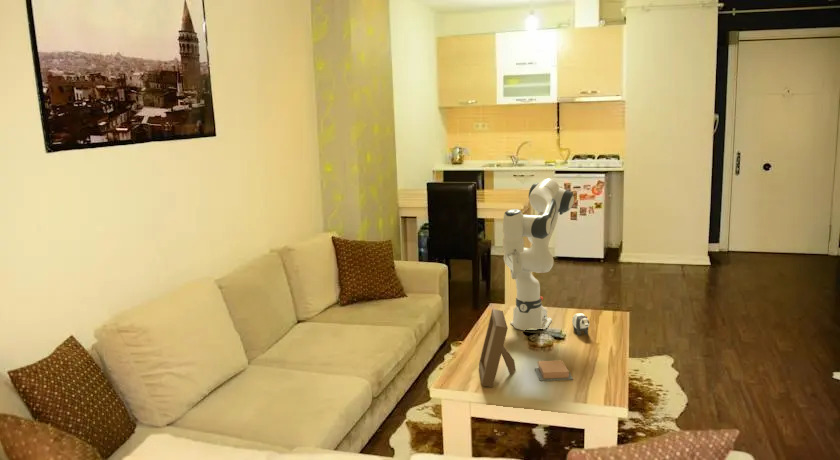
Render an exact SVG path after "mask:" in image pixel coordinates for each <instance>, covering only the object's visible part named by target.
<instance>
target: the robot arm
mask: <svg viewBox="0 0 840 460" xmlns="http://www.w3.org/2000/svg"><path fill="white" fill-rule="evenodd" d="M528 201H529V204H530V206H531V208H532V209H533V210H534V211H536V212H537V213H536V215H534V214H523V212H522V210H520V209H517V208H511V209H507V210H506V211H505V212H504V214H503V220H502V232H503V239H502V251H503V252H504V254H503V262H504V265H506V266H507V267H508V269H509V271H510V273H511V274H510V275H511V276H510V277H511V279H513V280H514V281H515V284H516V285H515V286H516V287H515V288H516V298H515V307H514V308H513V314H512V315H513V316H512V320H511V321H510V325H512V326H513V327H514V329H517V330H521V331H525V329H529V328H547V329H548V327H549V326H550V325H551V322H552V321H553V319H552V318H551V317H548V310H547V308H546V307H544V306H543V304H542V302H543V299H544V297H543V296H541V284H540V281H539V280H538V279H537V278H536V277H535V276H534V275H533V273H538V274H539V273H540V274H541V273H549V272H550V271H551V270H552V268H553V266H554V262H555V261H554V257H553V255H552V253H551V252H550V248H549V245H550V244H549V243H550V240H551V237H552V235H553V233H554V231H555V228H556V226H557V222H558V217H559V215H563V214H565V213H567V212H569V210H570V211H571V208H572V206H574V203H575V194H574V193H573V192H572V191H570V190H568V189H565V188H562V187H560V186H559V184H558V182H557V181H556V180H555V179H553V178H549V177H548V178H544V179H542V180H541V181H540V182H536V183H533V184H532V185H531V187H530V188H529V191H528ZM525 237H526V238H527V239H528V241H529V242H530V244H531V246H530V247H525V246H524V245H525V239H524V238H525ZM532 272H533V273H532Z"/></svg>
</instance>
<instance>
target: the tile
mask: <svg viewBox="0 0 840 460" xmlns="http://www.w3.org/2000/svg"><path fill="white" fill-rule="evenodd" d="M566 367H567V366H566V364H565V363H564V361H563V360H561V359H559V360H538V361H537V368H539V370H540V372H541V374H542V376H543V379H544V378H569V373H570V371H569V369H568V368H566ZM567 369H568V370H567Z"/></svg>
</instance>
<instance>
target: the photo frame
mask: <svg viewBox="0 0 840 460" xmlns="http://www.w3.org/2000/svg"><path fill="white" fill-rule="evenodd" d="M489 317H490V318H489V320H488V321H489V322H488V326H487V330H486V333H485V338H484V342H483V347H482V349H481V354H480V358H479V361H478V362H479V364H478V367H479V374H480V375H479V376H480V381H481V386H484V387H488V388H494V385H495V380H496V376H497V372H498V368H499V364H500V361H501V356H502V358H503V361H504V363H505V365H506V368H507V370H508V373H509V375H512V374H513V373H514V372H516V362H515V359H514V358H513V356H512V355H511V354H510V352H509V351H508V350H507V348H506V347H505V345H504V344H505V341H506V336H507V333H508V325H507V320H506V318H505V314H504V311H503V310H500V309H499V310H498V309H495V308H492V309H491V313H490V316H489Z"/></svg>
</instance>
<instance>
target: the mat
mask: <svg viewBox="0 0 840 460" xmlns="http://www.w3.org/2000/svg"><path fill="white" fill-rule="evenodd" d="M566 368H567V366H566ZM567 370H568V371H569V369H568V368H567ZM534 371H535V373H536V375H537V377H538V379H539V381H540V382H546V381H547V382H548V381H549V382H550V381H551V382H553V381H570V380H571V381H572V380H574V378H573V376H572V374H571V373H570V372H569V378H544V379H543V376H542V374H541V372H540V370H539V368H538V367H536V368H534Z"/></svg>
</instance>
